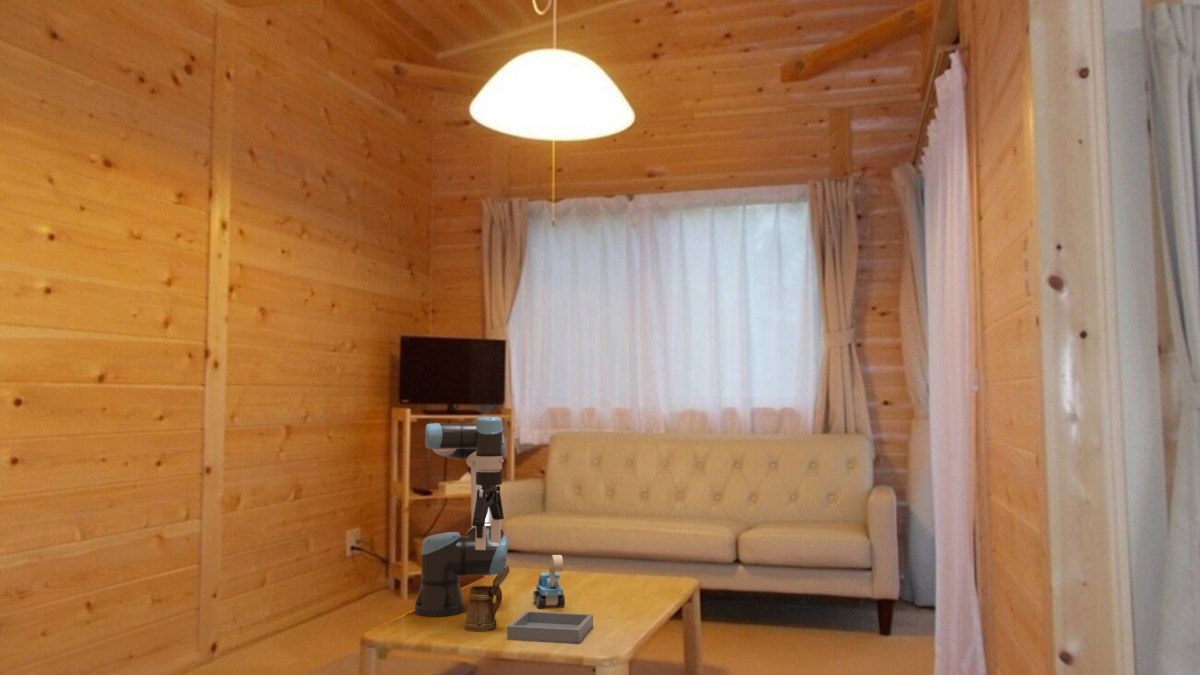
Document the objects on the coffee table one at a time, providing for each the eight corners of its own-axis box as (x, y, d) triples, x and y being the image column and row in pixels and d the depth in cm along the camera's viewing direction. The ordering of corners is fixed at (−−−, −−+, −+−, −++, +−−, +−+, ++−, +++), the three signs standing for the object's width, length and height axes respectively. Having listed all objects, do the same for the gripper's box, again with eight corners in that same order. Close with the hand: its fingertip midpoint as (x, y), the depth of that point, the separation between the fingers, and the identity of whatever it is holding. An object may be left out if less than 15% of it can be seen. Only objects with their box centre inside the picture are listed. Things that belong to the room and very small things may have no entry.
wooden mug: (500, 634, 246) (500, 568, 248) (458, 629, 252) (459, 565, 253) (515, 627, 255) (516, 563, 256) (475, 622, 260) (475, 559, 261)
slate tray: (507, 639, 242) (507, 626, 242) (525, 623, 259) (525, 610, 259) (579, 643, 238) (579, 630, 238) (593, 626, 255) (593, 614, 255)
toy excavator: (542, 614, 270) (543, 557, 271) (532, 602, 286) (532, 548, 287) (570, 612, 272) (570, 555, 274) (558, 600, 288) (558, 547, 290)
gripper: (487, 474, 243) (486, 553, 242) (514, 468, 268) (513, 539, 266) (461, 473, 245) (460, 552, 243) (490, 467, 269) (489, 539, 267)
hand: (488, 546), depth 255 cm, fingers open, 13 cm apart
